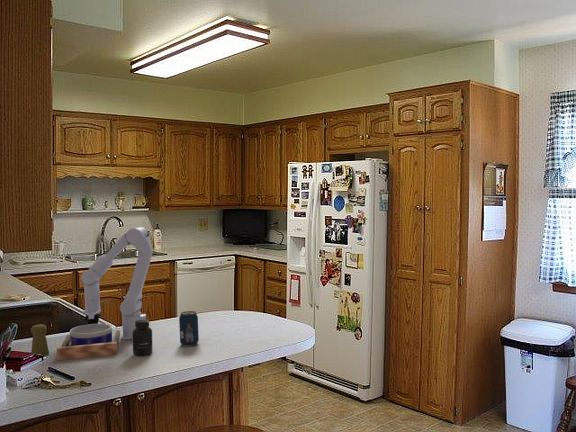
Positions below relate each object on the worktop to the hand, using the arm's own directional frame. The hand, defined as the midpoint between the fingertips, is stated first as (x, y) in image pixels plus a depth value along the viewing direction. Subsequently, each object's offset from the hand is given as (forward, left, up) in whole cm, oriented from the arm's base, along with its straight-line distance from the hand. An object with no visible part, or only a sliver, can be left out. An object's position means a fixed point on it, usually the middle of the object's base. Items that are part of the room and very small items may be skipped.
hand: (93, 332), depth 221 cm
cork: (+17, +19, -2) cm, 25 cm away
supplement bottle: (-19, +31, -2) cm, 36 cm away
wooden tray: (0, +14, -2) cm, 14 cm away
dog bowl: (0, +9, -2) cm, 10 cm away
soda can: (-36, +24, -2) cm, 43 cm away
